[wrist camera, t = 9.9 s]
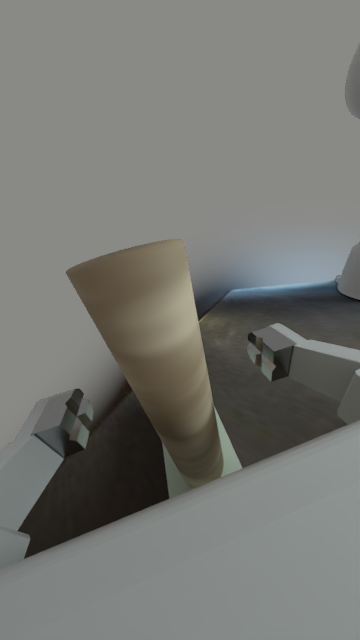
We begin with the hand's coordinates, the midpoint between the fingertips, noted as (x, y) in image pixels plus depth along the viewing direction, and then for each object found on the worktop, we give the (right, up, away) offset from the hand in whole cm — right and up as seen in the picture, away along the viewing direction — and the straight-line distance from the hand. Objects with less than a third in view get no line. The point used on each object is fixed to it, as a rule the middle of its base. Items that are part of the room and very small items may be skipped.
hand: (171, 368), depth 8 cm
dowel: (+2, -8, +4) cm, 9 cm away
